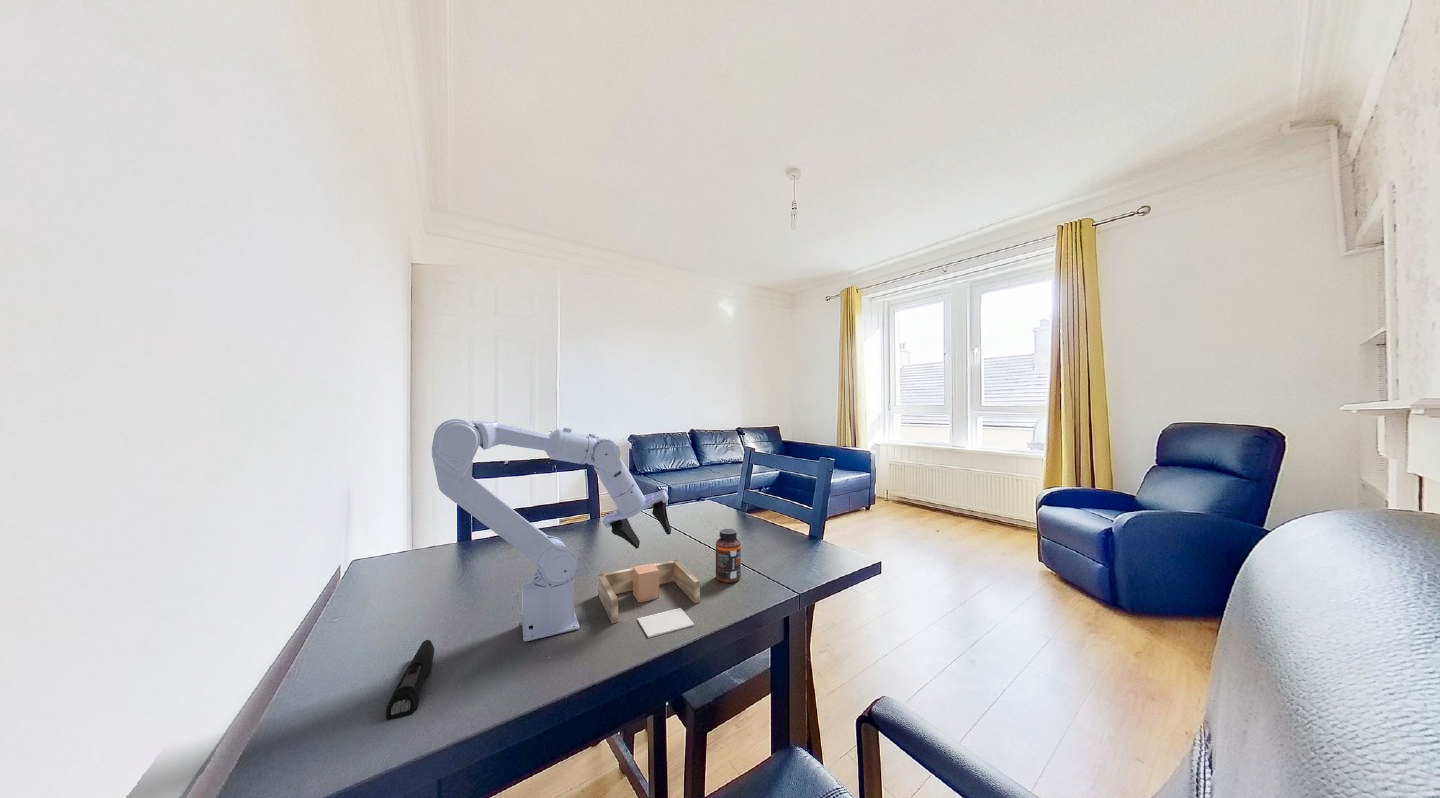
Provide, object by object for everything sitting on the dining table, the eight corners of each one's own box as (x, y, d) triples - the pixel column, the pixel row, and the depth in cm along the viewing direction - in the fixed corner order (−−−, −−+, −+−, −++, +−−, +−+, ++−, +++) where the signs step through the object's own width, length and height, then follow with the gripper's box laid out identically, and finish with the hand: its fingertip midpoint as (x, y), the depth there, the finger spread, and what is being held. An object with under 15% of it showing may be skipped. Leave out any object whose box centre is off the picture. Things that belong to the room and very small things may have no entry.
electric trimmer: (441, 654, 73) (440, 635, 73) (416, 715, 59) (416, 692, 59) (414, 660, 72) (414, 641, 72) (382, 724, 57) (382, 700, 57)
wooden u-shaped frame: (611, 623, 82) (611, 600, 82) (598, 595, 93) (598, 574, 93) (699, 602, 90) (699, 580, 90) (677, 578, 102) (677, 559, 102)
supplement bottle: (741, 584, 99) (740, 535, 99) (715, 584, 99) (715, 535, 99) (740, 573, 105) (740, 527, 104) (716, 573, 105) (715, 527, 105)
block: (638, 602, 90) (638, 574, 90) (633, 594, 94) (632, 566, 94) (659, 598, 92) (659, 570, 92) (652, 589, 96) (652, 563, 96)
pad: (648, 638, 77) (648, 636, 77) (637, 619, 83) (637, 618, 83) (694, 625, 81) (694, 624, 81) (680, 609, 87) (680, 607, 87)
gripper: (655, 465, 92) (684, 515, 96) (596, 492, 93) (627, 540, 97) (652, 481, 85) (683, 534, 89) (588, 510, 87) (621, 560, 91)
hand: (653, 538), depth 93 cm, fingers open, 7 cm apart
